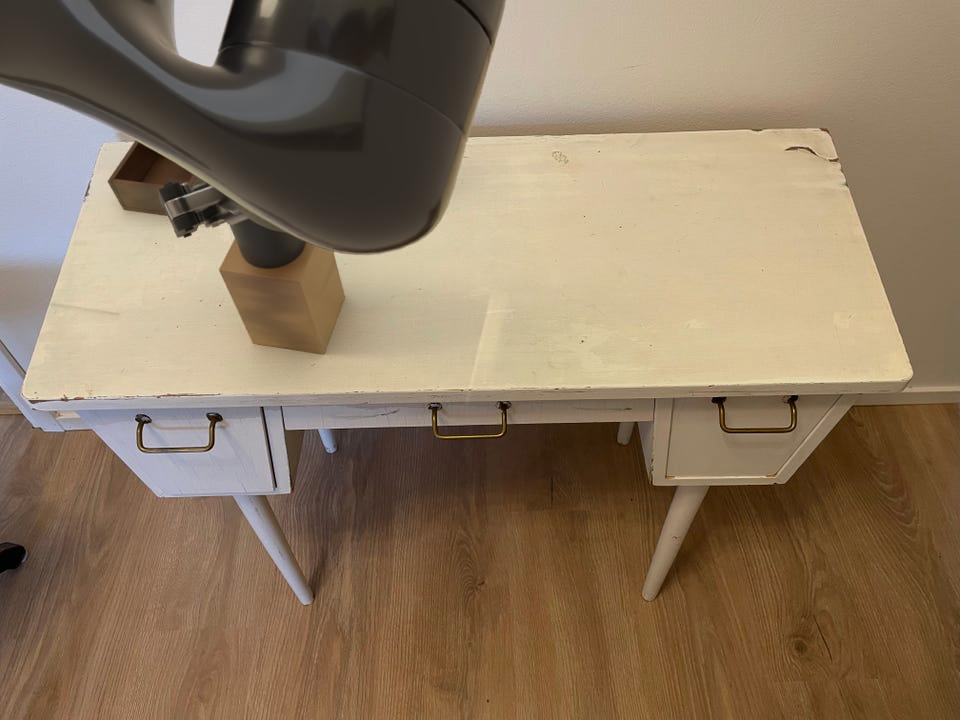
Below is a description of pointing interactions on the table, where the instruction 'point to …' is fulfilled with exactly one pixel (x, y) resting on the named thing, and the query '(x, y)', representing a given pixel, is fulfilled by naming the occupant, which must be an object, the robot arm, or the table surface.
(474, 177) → the table surface
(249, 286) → the stand
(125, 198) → the bin
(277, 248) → the ball tube
